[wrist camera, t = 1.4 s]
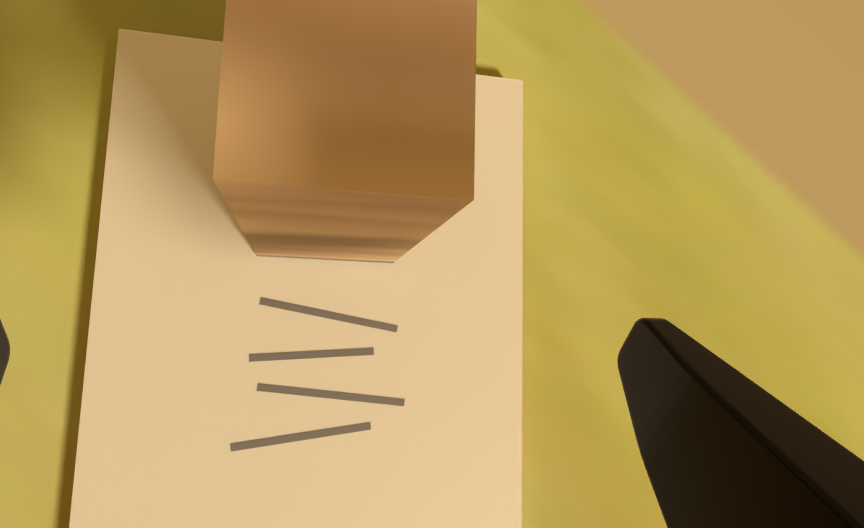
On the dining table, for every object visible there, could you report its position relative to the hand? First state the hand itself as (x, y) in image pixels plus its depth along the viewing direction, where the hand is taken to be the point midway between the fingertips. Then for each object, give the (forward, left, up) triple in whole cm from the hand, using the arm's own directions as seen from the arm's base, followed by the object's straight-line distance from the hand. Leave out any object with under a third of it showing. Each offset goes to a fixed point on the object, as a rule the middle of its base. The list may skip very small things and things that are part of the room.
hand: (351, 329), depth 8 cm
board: (-1, -1, -12) cm, 12 cm away
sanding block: (+4, +2, -11) cm, 12 cm away
